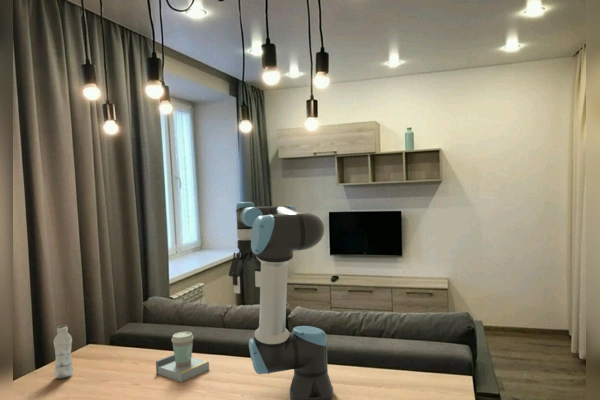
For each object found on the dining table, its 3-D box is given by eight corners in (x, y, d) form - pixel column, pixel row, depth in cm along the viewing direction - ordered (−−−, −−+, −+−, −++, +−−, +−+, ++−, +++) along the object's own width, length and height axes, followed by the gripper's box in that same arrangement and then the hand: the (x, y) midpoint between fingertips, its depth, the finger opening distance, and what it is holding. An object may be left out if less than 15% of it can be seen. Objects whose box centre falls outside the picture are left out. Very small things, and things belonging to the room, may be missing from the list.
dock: (209, 369, 179) (208, 357, 179) (181, 382, 168) (180, 368, 168) (184, 361, 188) (183, 350, 188) (156, 373, 177) (155, 360, 177)
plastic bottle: (50, 379, 175) (48, 328, 174) (66, 372, 181) (64, 323, 180) (61, 381, 172) (59, 330, 171) (77, 375, 178) (75, 325, 177)
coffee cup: (188, 369, 173) (187, 338, 173) (168, 368, 174) (167, 337, 174) (198, 360, 181) (196, 331, 181) (178, 359, 183) (177, 330, 183)
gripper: (258, 236, 198) (260, 283, 198) (218, 241, 177) (220, 294, 178) (271, 236, 194) (273, 285, 194) (232, 242, 173) (234, 296, 173)
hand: (248, 289), depth 186 cm, fingers open, 13 cm apart
